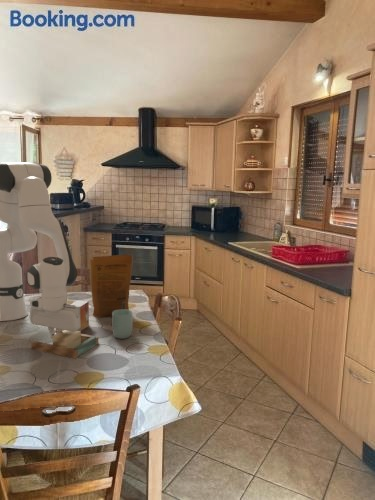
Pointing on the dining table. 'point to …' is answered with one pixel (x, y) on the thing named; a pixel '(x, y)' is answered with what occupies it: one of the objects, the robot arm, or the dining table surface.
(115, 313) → the cup
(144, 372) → the dining table surface
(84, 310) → the small box
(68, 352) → the bay
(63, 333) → the tan tapered block
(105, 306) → the pancake mix bag
